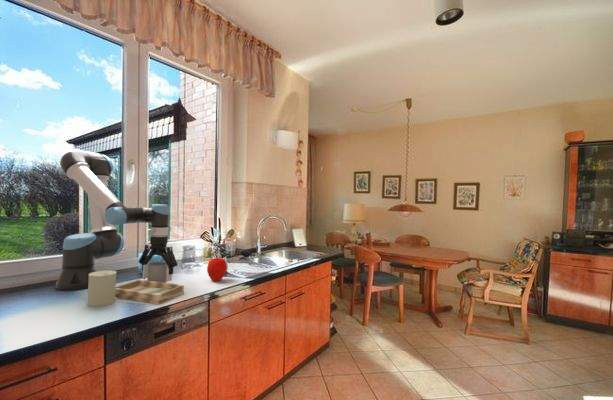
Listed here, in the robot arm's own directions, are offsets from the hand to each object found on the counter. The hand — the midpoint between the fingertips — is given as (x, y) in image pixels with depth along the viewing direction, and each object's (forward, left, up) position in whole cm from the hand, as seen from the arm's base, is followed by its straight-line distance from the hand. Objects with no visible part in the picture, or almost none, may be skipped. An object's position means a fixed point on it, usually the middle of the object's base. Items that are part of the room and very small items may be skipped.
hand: (157, 279), depth 140 cm
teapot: (-13, +14, -2) cm, 19 cm away
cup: (0, 0, -2) cm, 2 cm away
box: (+8, -14, -2) cm, 16 cm away
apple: (+22, +17, -2) cm, 28 cm away
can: (-1, -28, -2) cm, 28 cm away
